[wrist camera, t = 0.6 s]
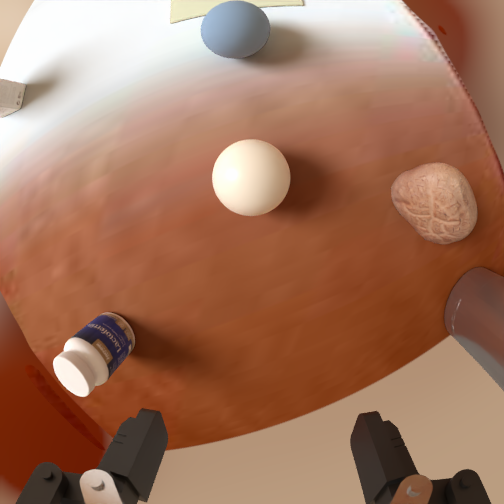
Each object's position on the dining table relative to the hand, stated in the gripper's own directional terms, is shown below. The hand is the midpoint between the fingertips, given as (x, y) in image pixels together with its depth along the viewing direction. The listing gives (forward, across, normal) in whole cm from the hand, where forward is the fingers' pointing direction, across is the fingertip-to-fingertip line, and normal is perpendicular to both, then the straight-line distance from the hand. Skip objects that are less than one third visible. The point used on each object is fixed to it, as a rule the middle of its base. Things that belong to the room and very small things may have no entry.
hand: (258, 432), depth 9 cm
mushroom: (+17, -15, -8) cm, 24 cm away
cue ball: (+14, +1, -10) cm, 17 cm away
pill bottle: (+18, +17, +6) cm, 26 cm away
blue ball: (+14, +2, -24) cm, 28 cm away
